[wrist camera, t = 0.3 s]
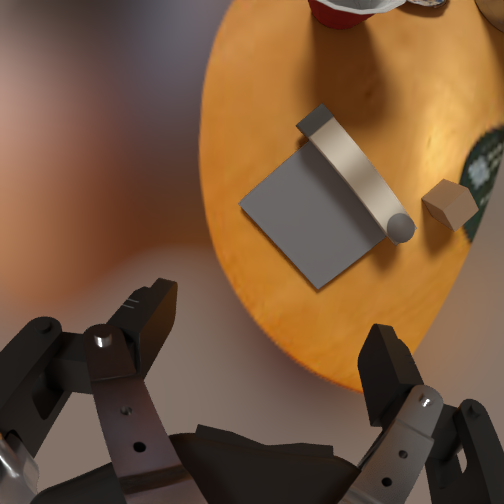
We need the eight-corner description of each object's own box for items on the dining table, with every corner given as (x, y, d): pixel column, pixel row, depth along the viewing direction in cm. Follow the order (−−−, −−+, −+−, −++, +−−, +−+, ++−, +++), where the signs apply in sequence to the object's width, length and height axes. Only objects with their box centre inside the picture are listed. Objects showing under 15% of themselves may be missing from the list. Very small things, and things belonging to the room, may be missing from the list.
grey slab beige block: (376, 85, 29) (393, 76, 24) (454, 197, 32) (478, 209, 27) (240, 201, 36) (231, 213, 30) (329, 298, 39) (335, 324, 34)
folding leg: (404, 217, 33) (421, 230, 28) (384, 234, 34) (398, 250, 29) (317, 106, 29) (323, 101, 25) (295, 125, 30) (297, 124, 26)
